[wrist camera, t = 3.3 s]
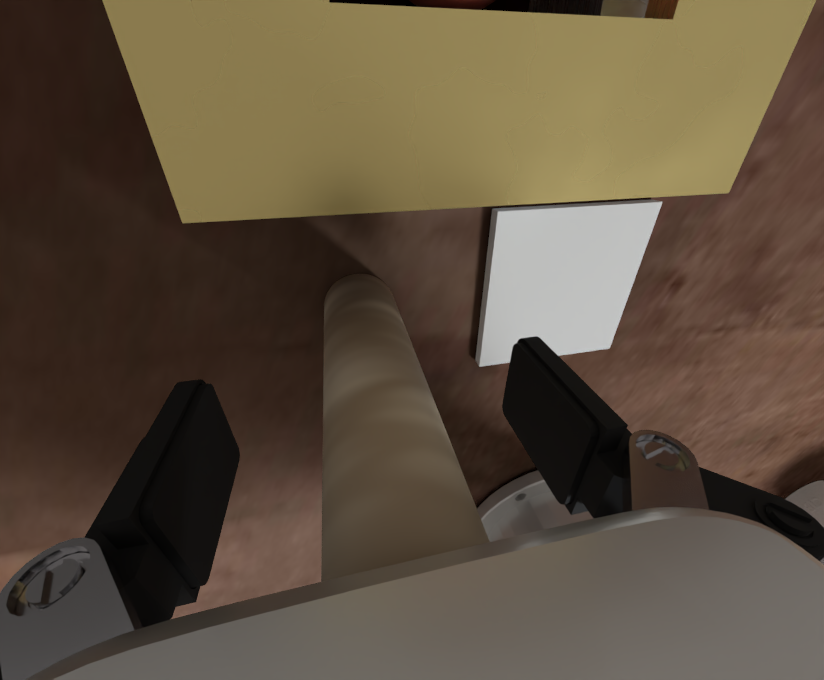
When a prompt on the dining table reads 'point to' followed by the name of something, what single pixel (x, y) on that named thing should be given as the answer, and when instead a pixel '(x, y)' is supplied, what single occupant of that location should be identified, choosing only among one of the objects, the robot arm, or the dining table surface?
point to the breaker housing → (448, 100)
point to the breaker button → (453, 4)
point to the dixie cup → (810, 500)
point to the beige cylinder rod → (383, 443)
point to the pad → (560, 275)
